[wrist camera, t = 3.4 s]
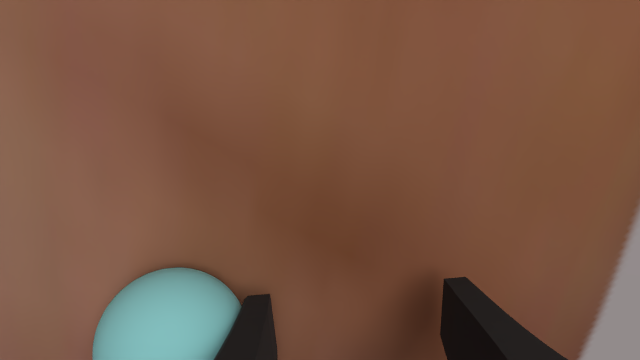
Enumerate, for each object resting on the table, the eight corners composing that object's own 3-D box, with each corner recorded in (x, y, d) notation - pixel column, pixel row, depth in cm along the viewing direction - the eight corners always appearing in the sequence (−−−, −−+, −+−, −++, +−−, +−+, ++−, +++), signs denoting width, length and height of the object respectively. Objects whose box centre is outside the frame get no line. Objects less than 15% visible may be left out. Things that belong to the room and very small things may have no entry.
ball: (269, 343, 15) (241, 462, 12) (150, 344, 16) (88, 460, 12) (250, 237, 14) (211, 339, 10) (117, 242, 14) (35, 341, 11)
